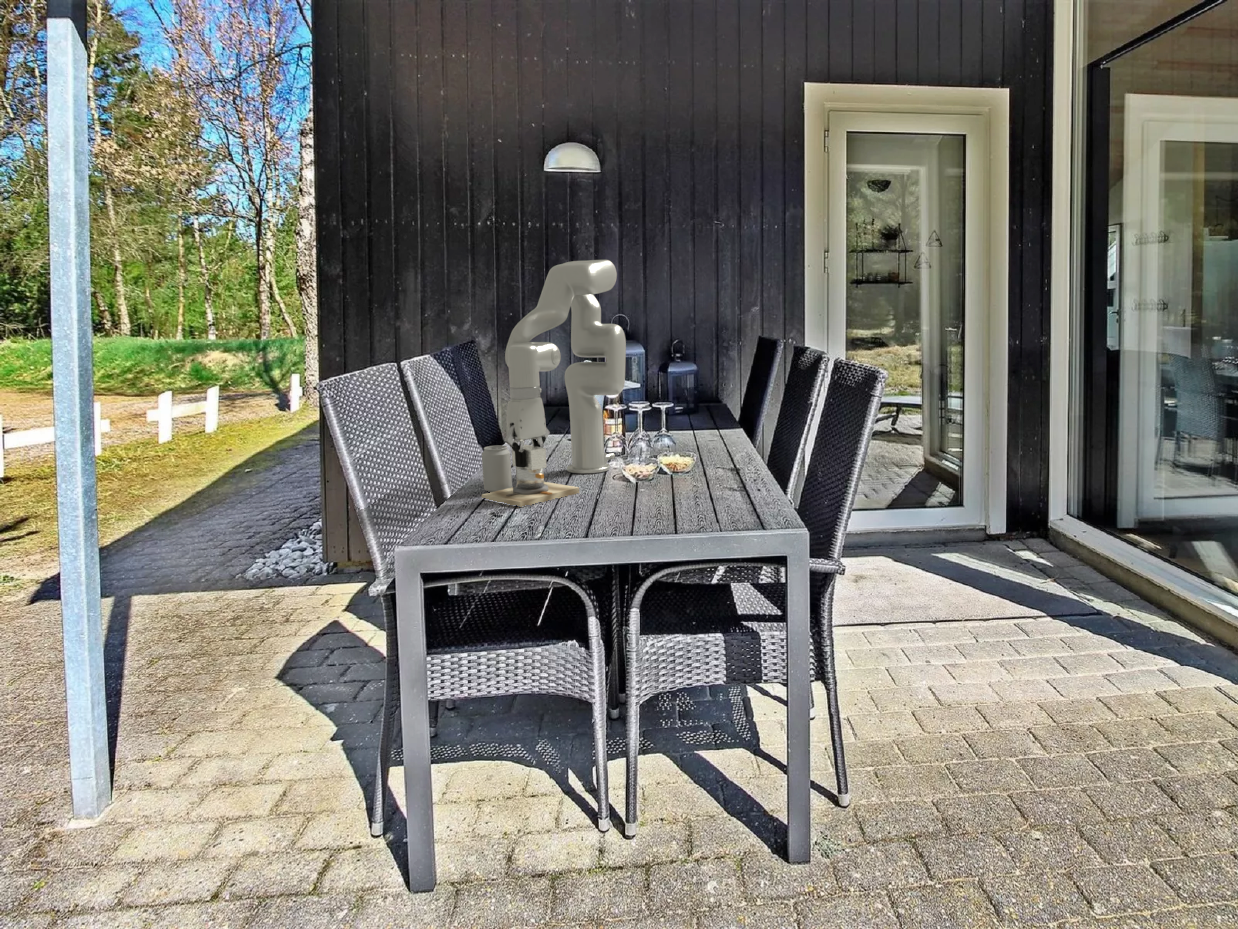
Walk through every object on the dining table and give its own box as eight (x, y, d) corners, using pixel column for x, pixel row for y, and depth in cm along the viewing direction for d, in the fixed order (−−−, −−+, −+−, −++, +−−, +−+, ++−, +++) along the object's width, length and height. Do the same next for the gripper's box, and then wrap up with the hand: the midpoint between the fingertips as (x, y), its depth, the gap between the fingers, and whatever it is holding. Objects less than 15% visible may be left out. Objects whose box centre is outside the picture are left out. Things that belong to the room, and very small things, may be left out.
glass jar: (509, 485, 225) (507, 447, 223) (532, 481, 229) (530, 443, 227) (531, 491, 217) (529, 451, 215) (554, 486, 221) (552, 447, 219)
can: (515, 487, 236) (512, 444, 233) (509, 493, 228) (506, 448, 226) (487, 488, 236) (485, 444, 234) (481, 494, 229) (477, 449, 227)
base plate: (540, 486, 236) (540, 477, 236) (579, 493, 226) (578, 483, 226) (482, 500, 222) (481, 490, 221) (520, 507, 212) (520, 497, 211)
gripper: (538, 390, 228) (542, 458, 231) (489, 397, 215) (494, 469, 218) (559, 391, 223) (562, 461, 226) (510, 398, 210) (514, 472, 214)
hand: (529, 464), depth 222 cm, fingers closed on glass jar, 5 cm apart
